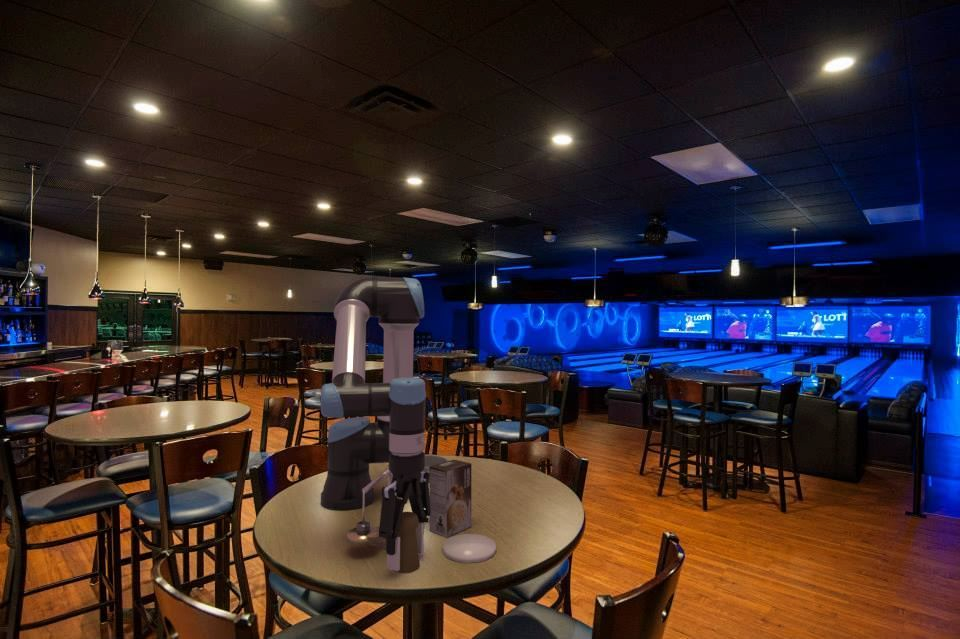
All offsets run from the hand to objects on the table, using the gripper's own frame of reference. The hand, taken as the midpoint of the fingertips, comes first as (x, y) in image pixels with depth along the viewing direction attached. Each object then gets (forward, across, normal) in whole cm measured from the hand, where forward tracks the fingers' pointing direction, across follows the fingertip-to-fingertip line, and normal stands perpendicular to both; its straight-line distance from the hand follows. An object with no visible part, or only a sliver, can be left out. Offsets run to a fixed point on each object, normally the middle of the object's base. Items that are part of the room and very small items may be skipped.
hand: (405, 560), depth 104 cm
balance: (+1, +10, +12) cm, 16 cm away
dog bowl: (+2, +55, +33) cm, 64 cm away
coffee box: (+1, +21, +2) cm, 21 cm away
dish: (+1, +13, -8) cm, 15 cm away
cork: (+1, 0, 0) cm, 1 cm away
